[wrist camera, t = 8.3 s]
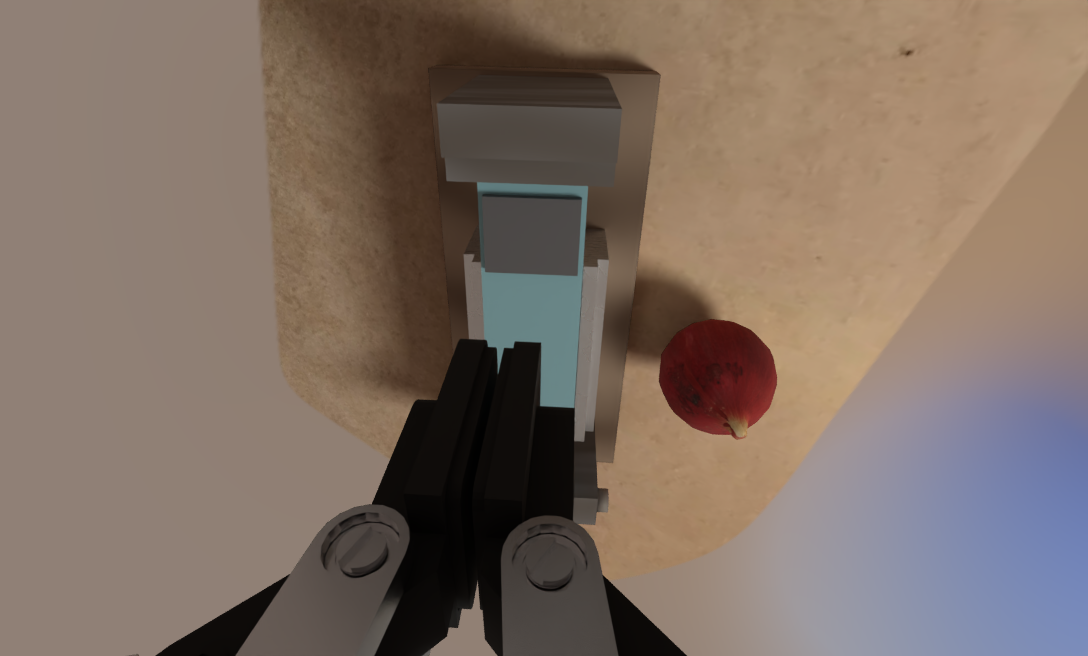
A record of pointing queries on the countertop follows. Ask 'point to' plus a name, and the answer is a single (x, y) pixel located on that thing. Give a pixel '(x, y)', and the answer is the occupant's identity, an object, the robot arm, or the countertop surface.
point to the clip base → (598, 216)
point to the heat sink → (588, 326)
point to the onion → (718, 377)
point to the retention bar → (534, 275)
